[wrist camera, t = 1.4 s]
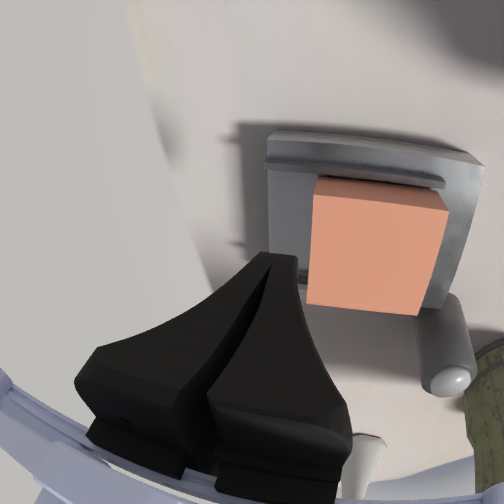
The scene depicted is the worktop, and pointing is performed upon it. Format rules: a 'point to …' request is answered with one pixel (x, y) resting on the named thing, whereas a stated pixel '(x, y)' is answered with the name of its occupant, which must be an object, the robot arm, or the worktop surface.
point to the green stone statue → (487, 416)
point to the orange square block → (373, 245)
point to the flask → (361, 465)
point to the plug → (445, 349)
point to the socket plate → (374, 170)
